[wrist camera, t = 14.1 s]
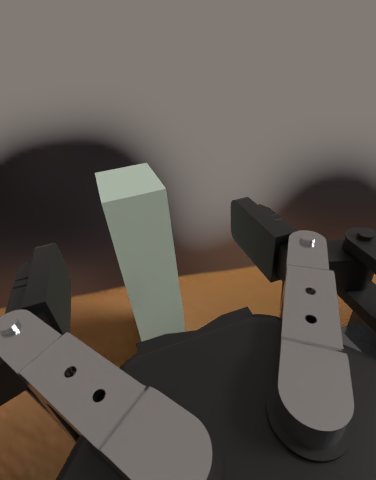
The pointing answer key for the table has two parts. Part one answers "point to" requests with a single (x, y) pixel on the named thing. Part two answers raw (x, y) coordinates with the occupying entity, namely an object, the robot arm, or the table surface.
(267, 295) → the table surface
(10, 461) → the table surface
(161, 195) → the tall mint green block
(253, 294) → the table surface
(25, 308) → the robot arm
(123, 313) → the table surface
